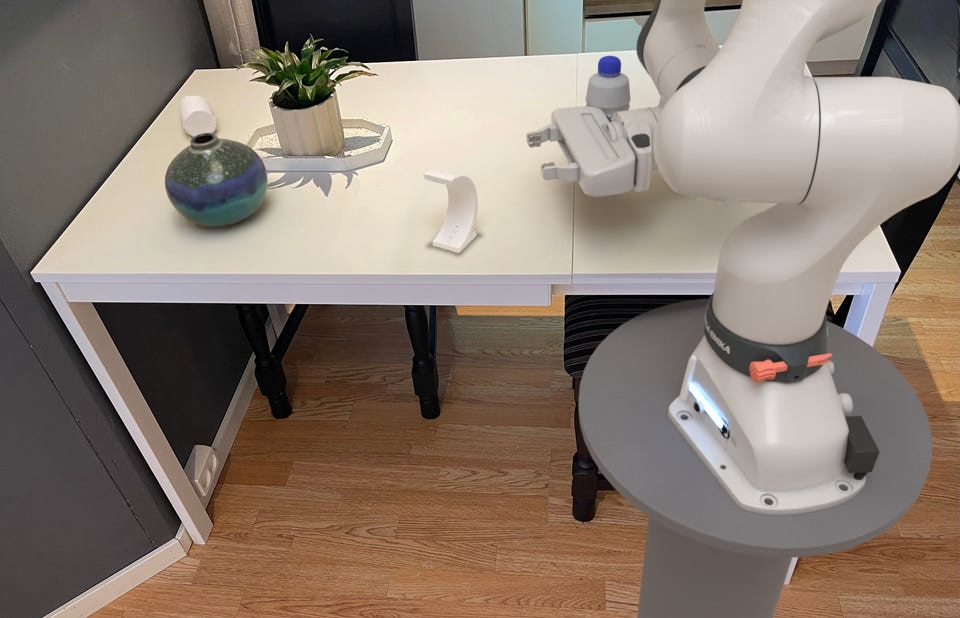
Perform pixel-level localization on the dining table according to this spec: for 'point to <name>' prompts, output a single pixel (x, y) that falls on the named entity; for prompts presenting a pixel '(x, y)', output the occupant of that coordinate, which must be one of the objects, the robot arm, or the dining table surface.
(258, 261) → the dining table surface
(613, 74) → the bottle
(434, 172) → the headphone stand
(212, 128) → the roll
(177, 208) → the vase
